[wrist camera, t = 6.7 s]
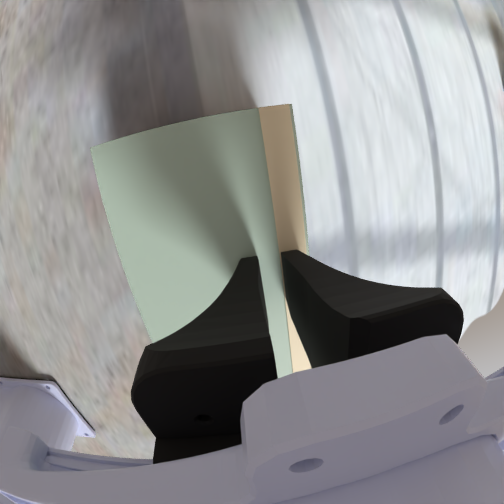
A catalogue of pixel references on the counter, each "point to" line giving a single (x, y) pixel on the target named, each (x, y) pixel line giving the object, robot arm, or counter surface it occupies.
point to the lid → (207, 216)
